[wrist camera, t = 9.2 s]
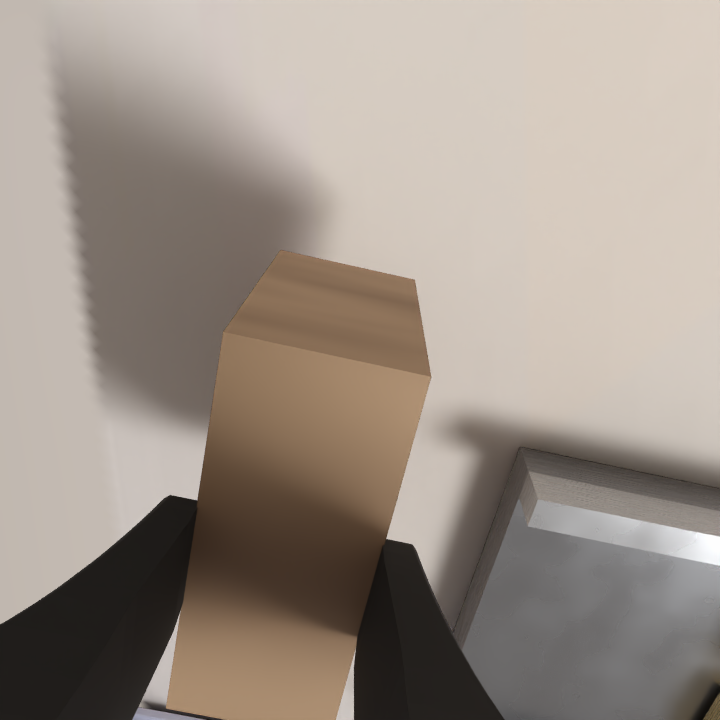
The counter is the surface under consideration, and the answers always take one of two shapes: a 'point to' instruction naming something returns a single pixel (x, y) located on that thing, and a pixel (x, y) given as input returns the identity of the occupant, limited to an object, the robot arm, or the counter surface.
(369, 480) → the tan rectangular block
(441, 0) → the counter surface
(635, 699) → the slot plate
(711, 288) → the counter surface
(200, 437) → the counter surface
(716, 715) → the brass chip
